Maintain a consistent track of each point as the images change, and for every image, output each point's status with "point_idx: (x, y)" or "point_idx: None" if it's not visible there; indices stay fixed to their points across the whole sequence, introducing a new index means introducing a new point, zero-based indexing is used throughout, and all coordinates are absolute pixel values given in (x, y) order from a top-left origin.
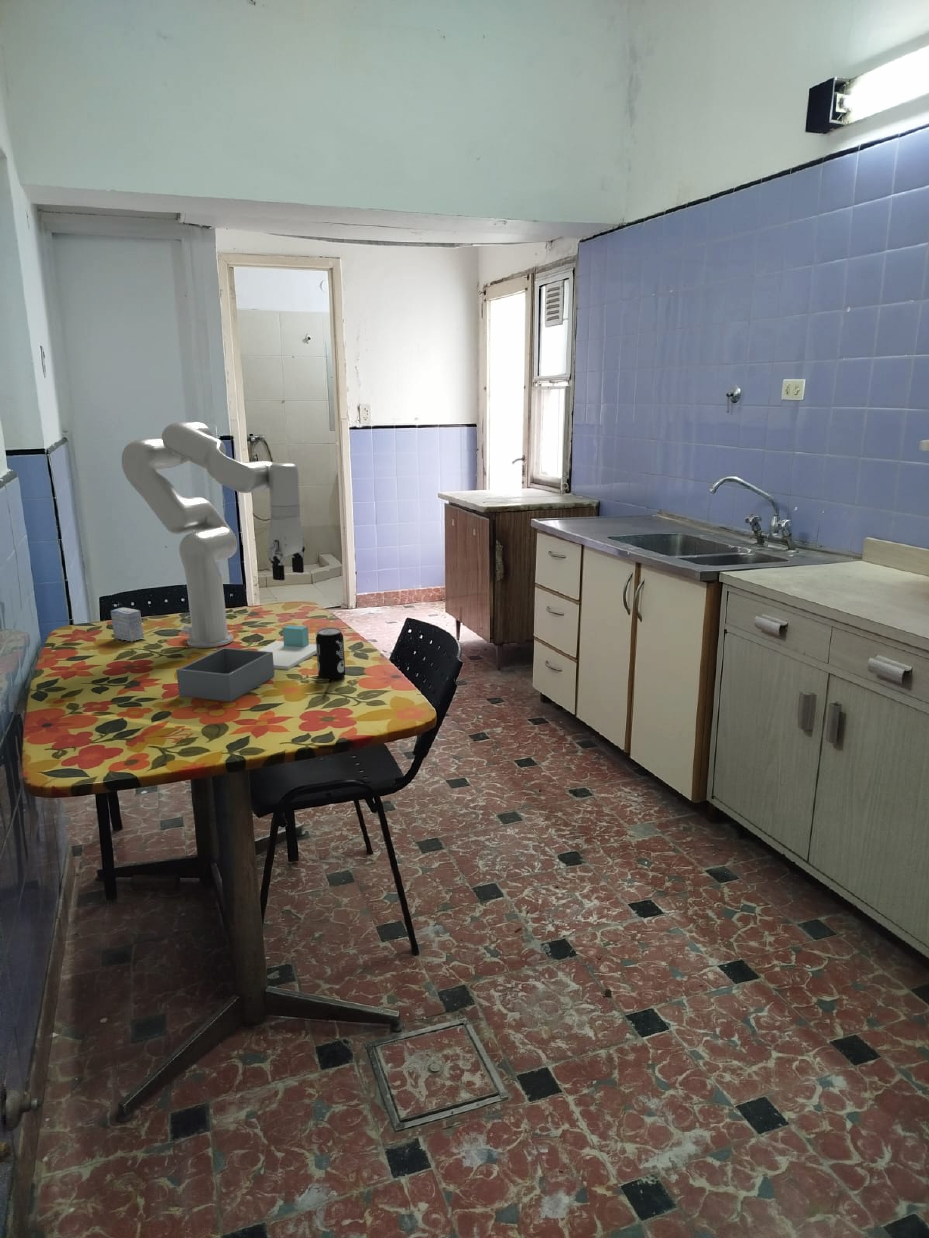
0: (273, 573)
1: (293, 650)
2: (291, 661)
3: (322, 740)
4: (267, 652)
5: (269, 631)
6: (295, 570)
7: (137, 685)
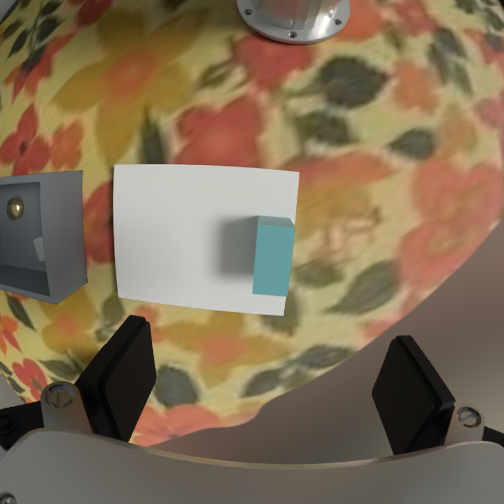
0: (113, 341)
1: (222, 260)
2: (145, 291)
3: (12, 384)
4: (51, 295)
5: (414, 101)
6: (389, 363)
7: (29, 70)
